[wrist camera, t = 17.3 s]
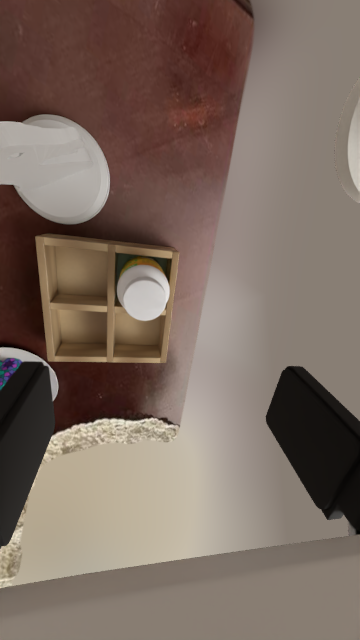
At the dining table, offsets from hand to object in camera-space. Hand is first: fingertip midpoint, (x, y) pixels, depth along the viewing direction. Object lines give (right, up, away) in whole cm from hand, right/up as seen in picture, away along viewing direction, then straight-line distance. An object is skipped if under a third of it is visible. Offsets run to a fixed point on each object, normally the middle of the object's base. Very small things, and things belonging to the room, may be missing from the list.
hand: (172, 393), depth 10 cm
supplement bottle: (-5, +9, +21) cm, 23 cm away
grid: (-9, +6, +22) cm, 24 cm away
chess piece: (-12, +19, +16) cm, 27 cm away
